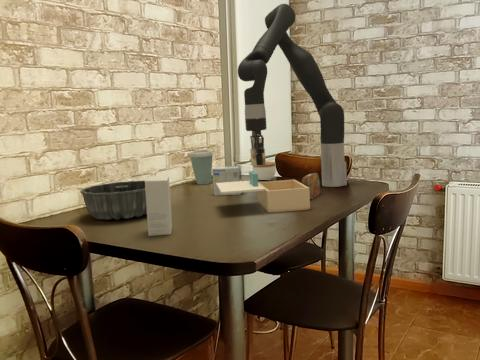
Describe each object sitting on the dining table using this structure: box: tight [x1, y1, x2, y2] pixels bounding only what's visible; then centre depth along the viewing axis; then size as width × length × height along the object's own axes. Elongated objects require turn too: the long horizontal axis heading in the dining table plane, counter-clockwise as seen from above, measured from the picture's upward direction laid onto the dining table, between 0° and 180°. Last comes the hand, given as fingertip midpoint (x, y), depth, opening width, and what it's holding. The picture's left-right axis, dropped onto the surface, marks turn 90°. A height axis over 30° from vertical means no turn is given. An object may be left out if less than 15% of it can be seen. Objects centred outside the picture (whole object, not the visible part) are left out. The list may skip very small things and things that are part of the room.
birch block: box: [249, 148, 267, 167], centre depth 178 cm, size 4×4×6 cm
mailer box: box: [256, 179, 311, 214], centre depth 163 cm, size 14×19×7 cm
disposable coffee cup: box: [188, 149, 214, 185], centre depth 221 cm, size 11×11×15 cm
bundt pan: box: [79, 180, 147, 221], centre depth 163 cm, size 26×26×10 cm
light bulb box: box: [212, 165, 243, 197], centre depth 191 cm, size 11×7×11 cm, turn 84°
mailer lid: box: [216, 170, 265, 194], centre depth 161 cm, size 14×19×5 cm
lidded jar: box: [252, 161, 277, 181], centre depth 221 cm, size 11×11×9 cm
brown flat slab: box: [301, 172, 321, 200], centre depth 175 cm, size 15×3×8 cm, turn 154°
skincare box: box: [144, 174, 173, 237], centre depth 137 cm, size 8×7×16 cm
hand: (258, 163), depth 178 cm, fingers closed on birch block, 4 cm apart
